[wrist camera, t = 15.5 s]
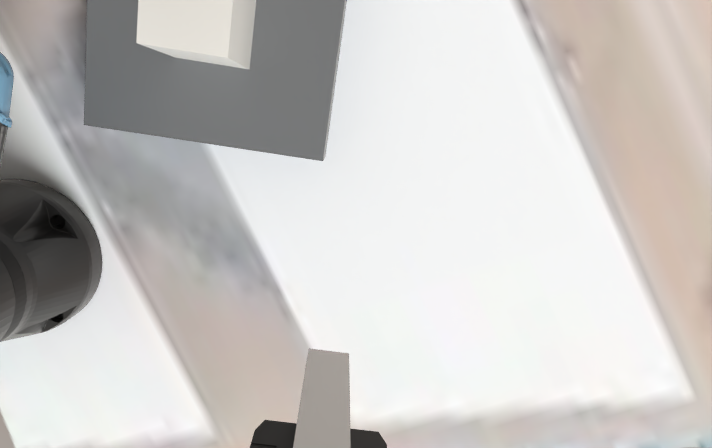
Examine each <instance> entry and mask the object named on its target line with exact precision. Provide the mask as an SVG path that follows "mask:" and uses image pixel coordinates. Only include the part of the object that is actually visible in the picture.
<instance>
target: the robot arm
mask: <svg viewBox="0 0 712 448" xmlns="http://www.w3.org/2000/svg"><path fill="white" fill-rule="evenodd" d="M13 79H14V76H13V70H12V67H11V65H10V63H9V61H8V60H7V59H6V57H5V56H4V55H3V54H2V53H1V52H0V166H1V161H2V156H3V151H4V145H5V140H6V135H7V129H8V127H11V126H12V120H11V119H10V117H9V113H10V104H11V96H12V88H13ZM101 272H102V255H101V249H100V245H99V242H98V238H97V236H96V234H95V231H94V229H93V227H92V226H91V224H90V222H89V221H88V219H87V218H86V217H85V215H84V214H83V213H82V212H81V211H80V209H79V208H78V207H77V206H76V205H75V204H74V203H72V202H71V201H70V200H69V199H67V198H66V197H65V196H63V195H62V194H60V193H59V192H57V191H55V190H53V189H51V188H49V187H47V186H45V185H42V184H39V183H36V182H32V181H27V180H20V179H4V180H0V342H1V341H6V340H10V339H15V338H20V337H24V336H29V335H34V334H38V333H42V332H45V331H48V330H50V329H53V328H55V327H57V326H59V325H61V324H62V323H64V322H66V321H67V320H68V319H70V318H71V317H73V316H74V315H75V314H77V313H78V312H79V311H81V310H82V309H83V308H84V307H85V306H86V305H87V304H88V302H89V301H90V300H91V298H92V297H93V295H94V293H95V292H96V289H97V287H98V284H99V281H100V277H101ZM250 448H387V444H386V443H385V441H384V440H383V438H382V437H381V435H380V434H379V432H374V431H365V430H357V429H350V386H349V354H348V353H340V352H332V351H324V350H316V349H309V350H308V356H307V362H306V369H305V375H304V381H303V388H302V394H301V400H300V407H299V413H298V419H297V424H295V423H287V422H278V421H270V420H264V421H263V422H262V423H261V424H260V426H259V427H258V428H257V429H256V430H255V432H254V435H253V439H252V442H251V446H250Z"/></svg>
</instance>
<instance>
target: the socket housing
mask: <svg viewBox="0 0 712 448" xmlns="http://www.w3.org/2000/svg"><path fill="white" fill-rule="evenodd" d="M346 2H347V0H256V8H255V19H254V29H253V39H252V49H251V59H250V69H243V68H237V67H231V66H225V65H219V64H212V63H206V62H200V61H194V60H188V59H181V58H175V57H172V56H170V55H167V54H164V53H162V52H159V51H156V50H154V49H151V48H148V47H145V46H143V45H140V44H137V43H136V40H137V19H138V0H87V27H86V65H85V103H84V125H88V126H95V127H101V128H108V129H114V130H121V131H128V132H134V133H141V134H148V135H154V136H161V137H167V138H174V139H181V140H187V141H194V142H200V143H207V144H214V145H220V146H227V147H234V148H240V149H247V150H253V151H260V152H267V153H273V154H280V155H286V156H293V157H300V158H306V159H313V160H320V161H323V160H324V158H325V154H326V147H327V140H328V133H329V125H330V118H331V111H332V103H333V96H334V89H335V82H336V74H337V67H338V60H339V53H340V45H341V38H342V31H343V24H344V16H345V9H346Z"/></svg>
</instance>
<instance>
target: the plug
mask: <svg viewBox="0 0 712 448" xmlns="http://www.w3.org/2000/svg"><path fill="white" fill-rule="evenodd" d="M255 8H256V0H138V19H137V40H136V43H137V44H140V45H143V46H145V47H148V48H151V49H154V50H156V51H159V52H162V53H164V54H167V55H170V56H172V57H175V58H181V59H188V60H194V61H200V62H206V63H212V64H219V65H225V66H231V67H237V68H243V69H250V59H251V49H252V39H253V29H254V19H255Z"/></svg>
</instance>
